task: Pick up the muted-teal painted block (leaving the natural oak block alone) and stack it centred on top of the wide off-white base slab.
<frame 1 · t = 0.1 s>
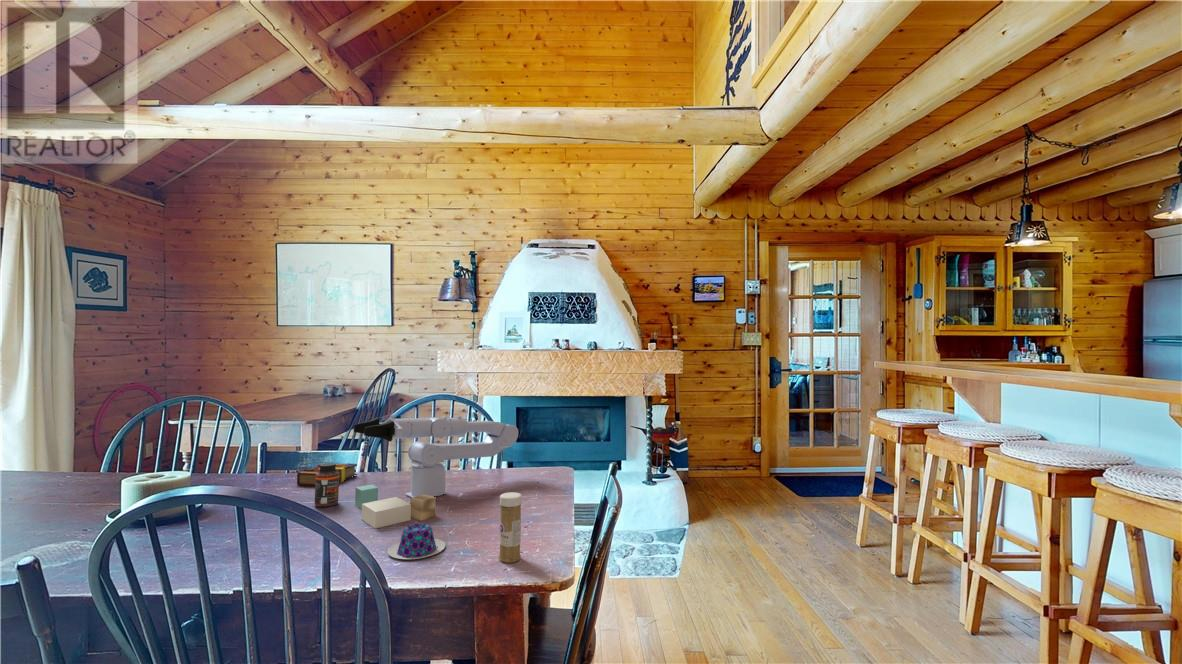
hand: (359, 429, 140), 22 cm above the table, tool horizontal, fingers open, 7 cm apart
base slab: (386, 519, 131), on the table
purple patterned hat: (416, 552, 111), on the table
teal block: (366, 505, 143), on the table
supplement bottle: (326, 505, 143), on the table
decorative book: (328, 481, 169), on the table
sprinkles bottle: (509, 560, 107), on the table
oak block: (422, 517, 133), on the table
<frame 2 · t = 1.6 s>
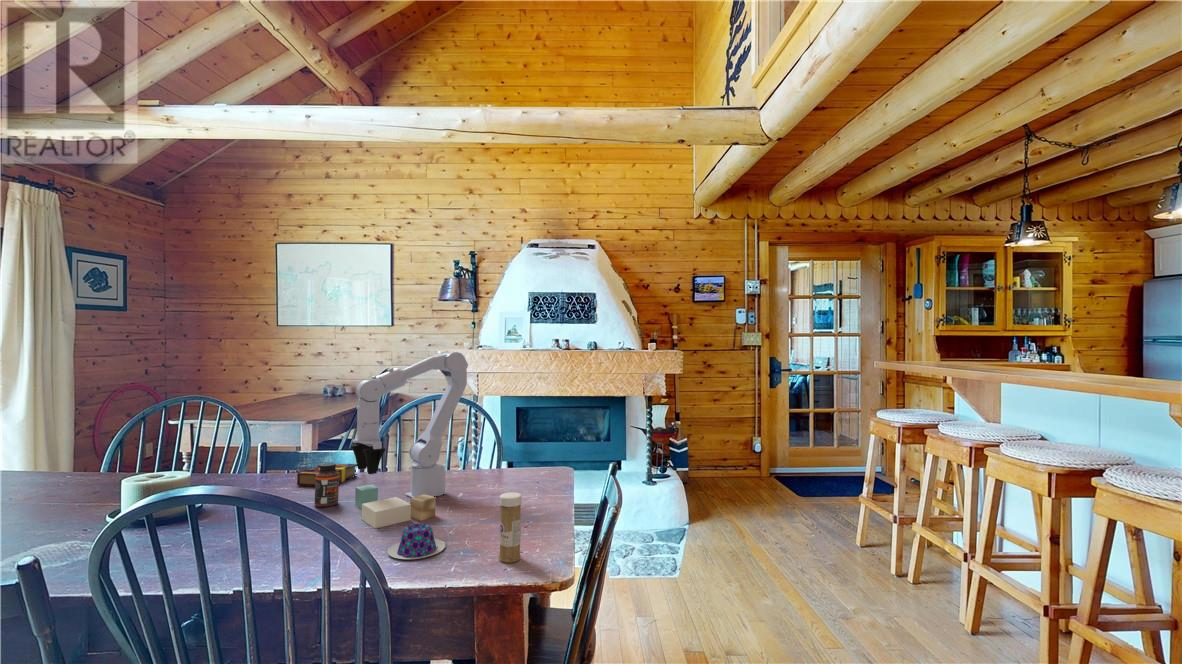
hand: (367, 471, 143), 9 cm above the table, tool pointing down, fingers open, 7 cm apart
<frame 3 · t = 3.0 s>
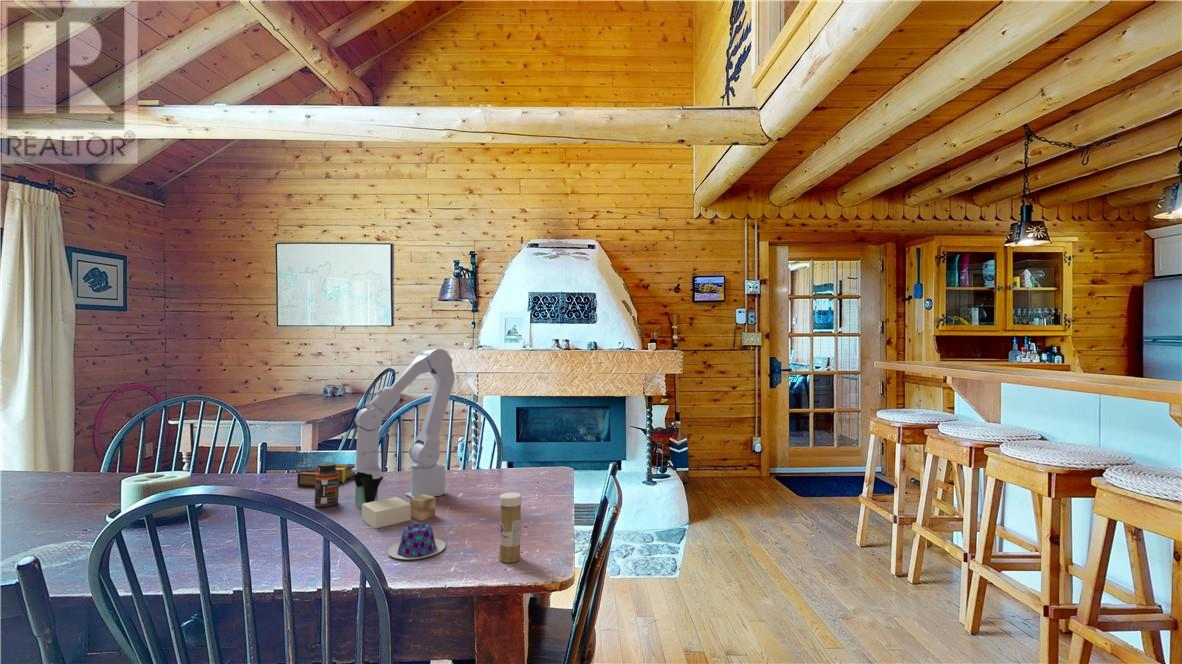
hand: (366, 499, 143), 1 cm above the table, tool pointing down, fingers closed on teal block, 4 cm apart
teal block: (366, 505, 143), on the table, touching gripper
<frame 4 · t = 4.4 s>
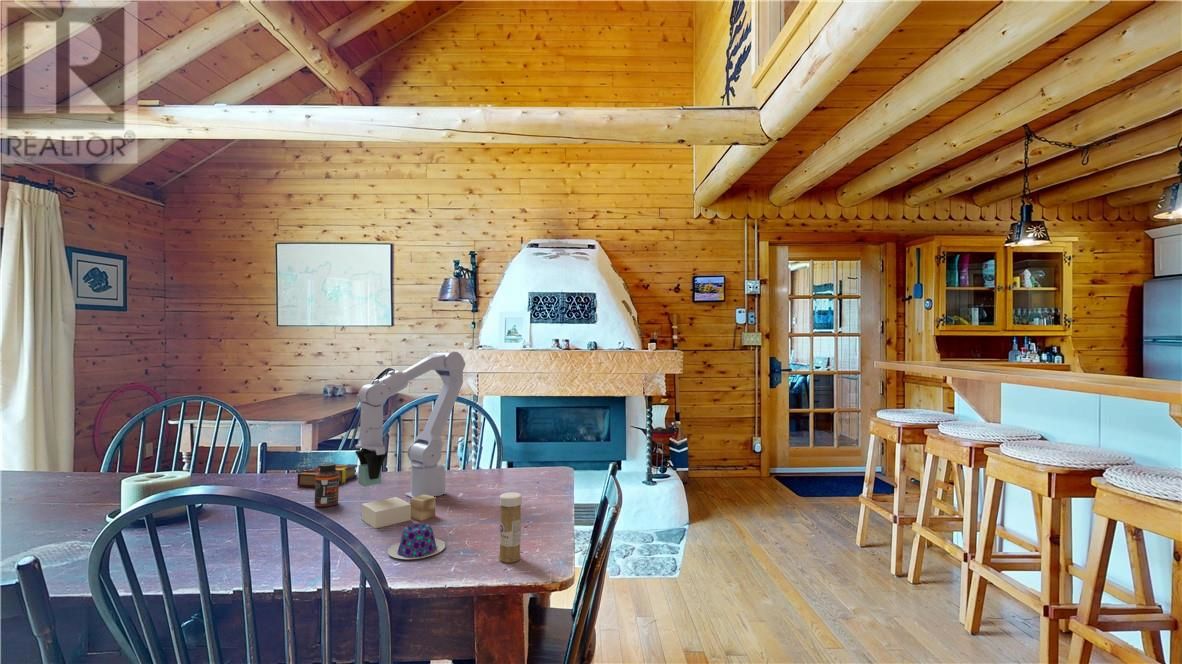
hand: (370, 477, 141), 8 cm above the table, tool pointing down, fingers closed on teal block, 4 cm apart
teal block: (369, 483, 141), point 7 cm above the table, touching gripper
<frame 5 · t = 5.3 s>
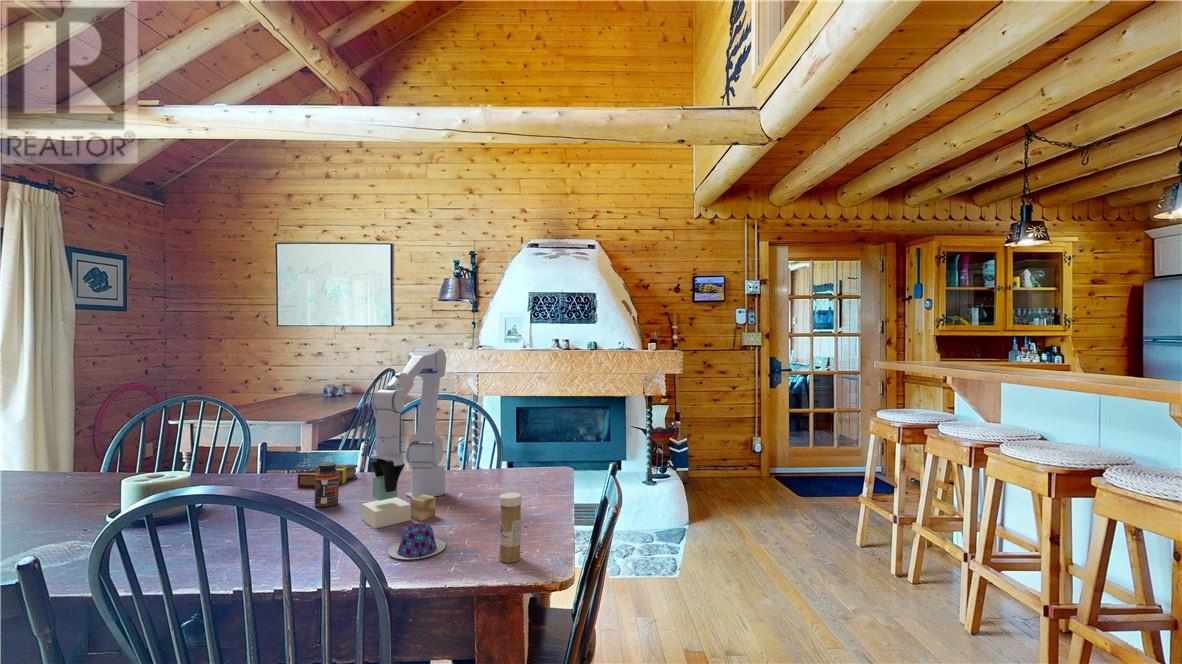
hand: (386, 489, 131), 8 cm above the table, tool pointing down, fingers closed on teal block, 4 cm apart
teal block: (384, 497, 131), point 6 cm above the table, touching gripper
when the fingers open (6 cm above the table, at t = 5.9 s): teal block stays where it is, resting on base slab.
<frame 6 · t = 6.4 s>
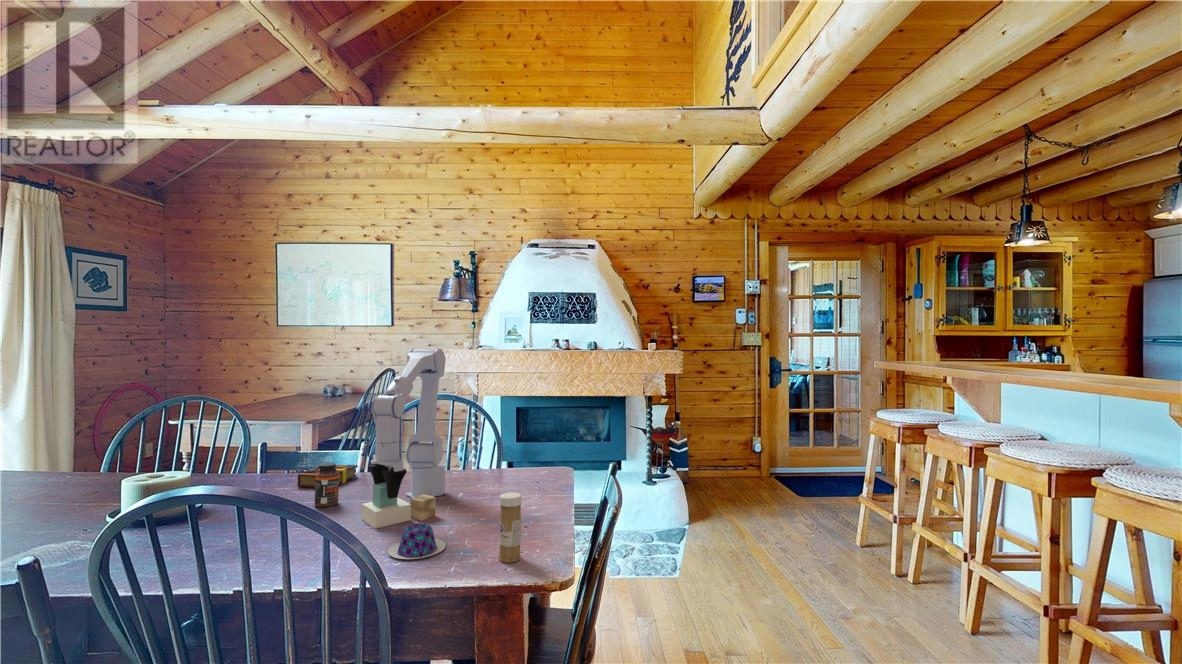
hand: (386, 494, 131), 6 cm above the table, tool pointing down, fingers open, 7 cm apart
teal block: (384, 504, 131), point 4 cm above the table, touching base slab
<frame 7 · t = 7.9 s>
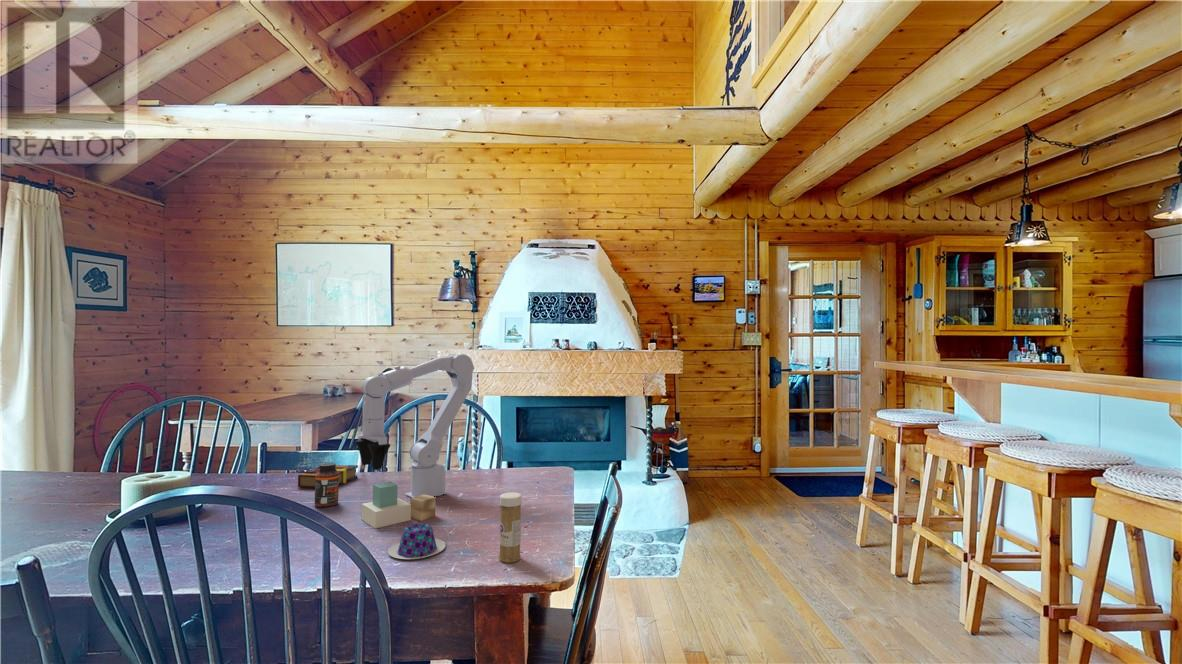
hand: (371, 466, 144), 10 cm above the table, tool pointing down, fingers open, 7 cm apart
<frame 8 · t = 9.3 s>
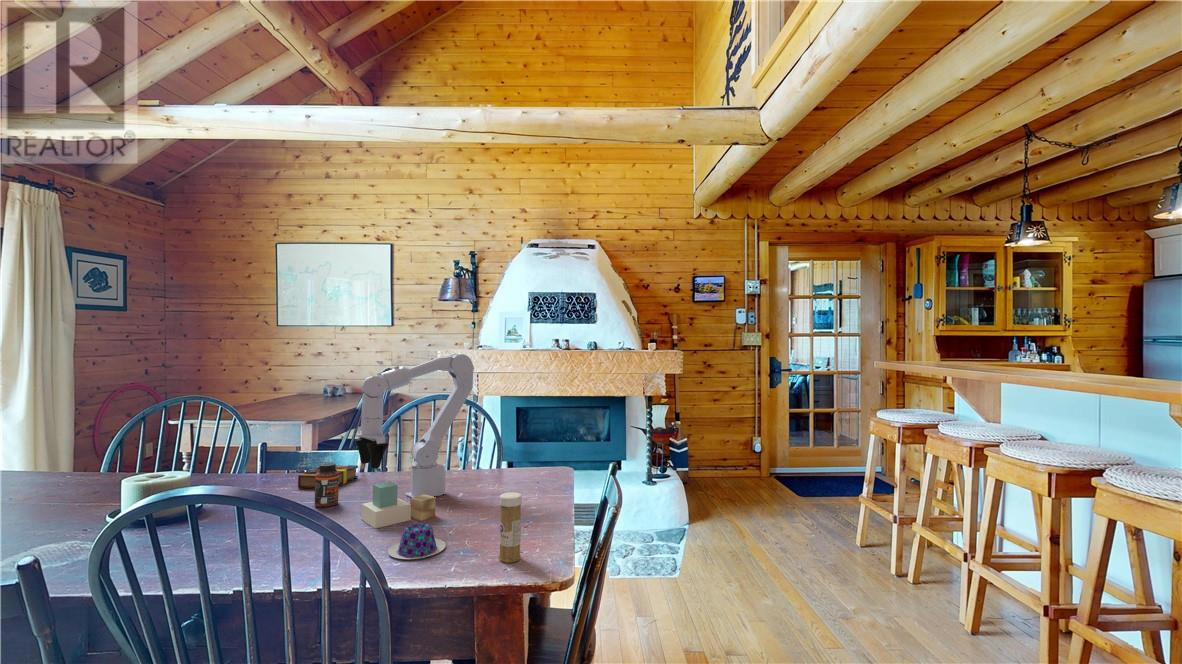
hand: (370, 465, 146), 10 cm above the table, tool pointing down, fingers open, 7 cm apart
at the end: teal block 0.4 cm off-centre on the base slab, point 4.0 cm above the base slab's base; teal block tilted 0°; the gripper is holding nothing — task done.
